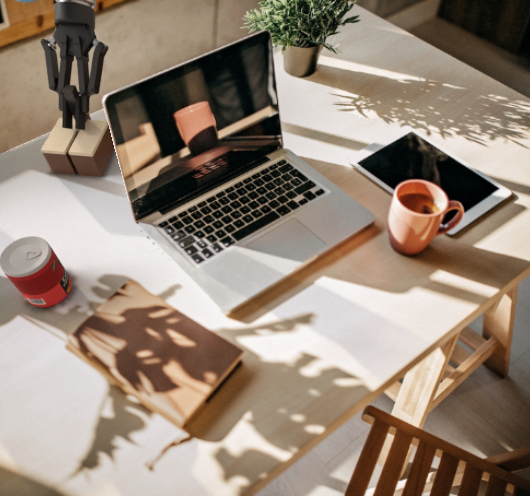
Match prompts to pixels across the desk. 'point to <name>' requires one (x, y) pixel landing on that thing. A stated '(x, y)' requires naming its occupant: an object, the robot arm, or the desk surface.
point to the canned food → (36, 271)
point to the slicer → (73, 100)
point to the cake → (79, 148)
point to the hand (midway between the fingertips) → (73, 128)
